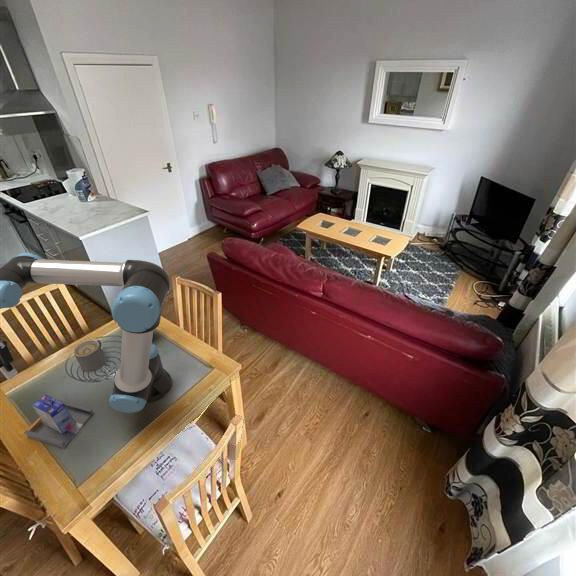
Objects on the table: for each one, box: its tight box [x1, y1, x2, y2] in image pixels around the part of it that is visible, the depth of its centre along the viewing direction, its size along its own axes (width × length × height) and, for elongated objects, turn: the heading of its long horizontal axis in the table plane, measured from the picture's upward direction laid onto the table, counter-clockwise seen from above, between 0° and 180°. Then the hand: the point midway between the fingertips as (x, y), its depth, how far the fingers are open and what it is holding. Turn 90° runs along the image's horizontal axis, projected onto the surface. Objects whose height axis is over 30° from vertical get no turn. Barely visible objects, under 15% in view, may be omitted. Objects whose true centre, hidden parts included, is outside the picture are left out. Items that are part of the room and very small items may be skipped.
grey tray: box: [23, 399, 95, 449], centre depth 114 cm, size 16×14×3 cm
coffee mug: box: [72, 338, 107, 373], centre depth 138 cm, size 13×10×10 cm
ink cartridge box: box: [31, 394, 76, 434], centre depth 110 cm, size 10×6×14 cm, turn 67°
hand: (12, 375), depth 101 cm, fingers closed
